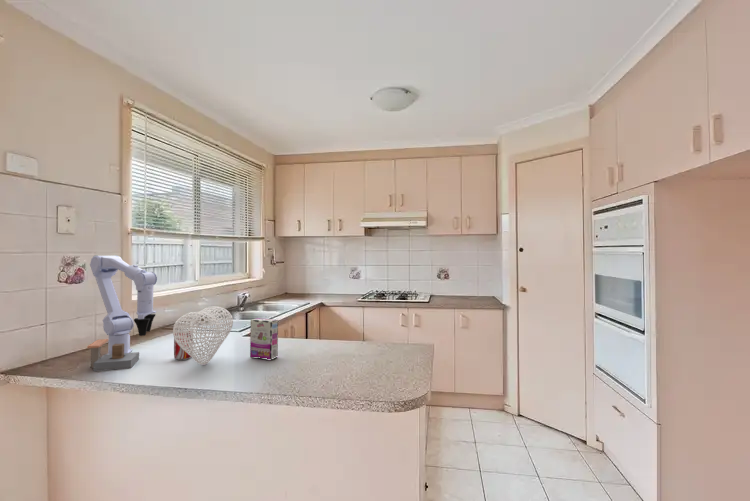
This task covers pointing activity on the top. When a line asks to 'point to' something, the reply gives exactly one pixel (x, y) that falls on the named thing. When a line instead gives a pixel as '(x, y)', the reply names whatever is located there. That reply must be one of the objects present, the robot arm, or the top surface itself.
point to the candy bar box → (264, 338)
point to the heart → (217, 332)
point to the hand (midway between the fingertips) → (144, 333)
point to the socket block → (110, 358)
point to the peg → (118, 351)
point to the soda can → (178, 351)
